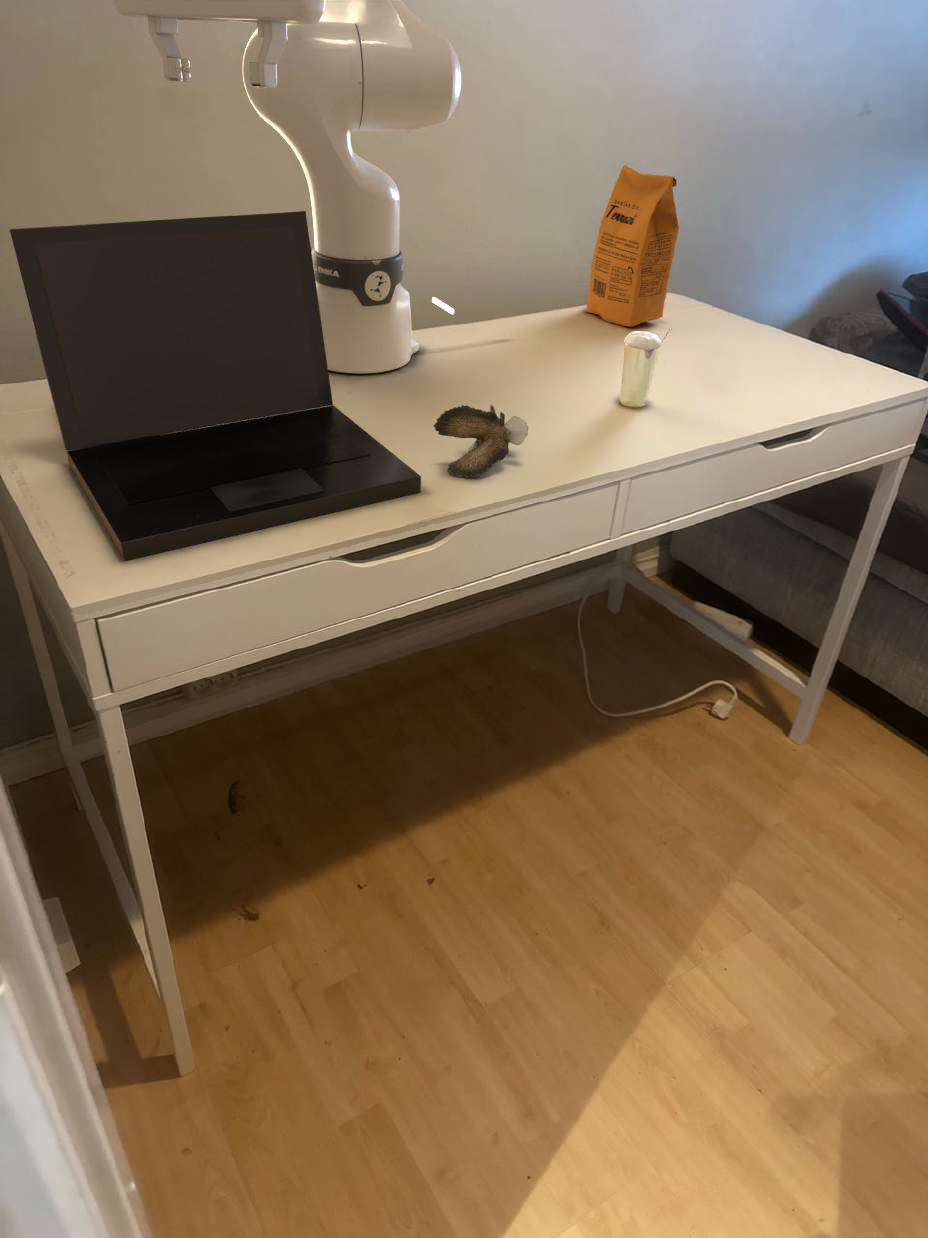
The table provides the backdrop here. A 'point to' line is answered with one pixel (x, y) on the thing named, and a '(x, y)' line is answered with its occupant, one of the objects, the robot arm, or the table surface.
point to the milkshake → (638, 367)
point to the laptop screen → (174, 322)
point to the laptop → (235, 478)
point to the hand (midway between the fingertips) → (220, 84)
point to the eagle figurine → (480, 437)
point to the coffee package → (634, 249)
